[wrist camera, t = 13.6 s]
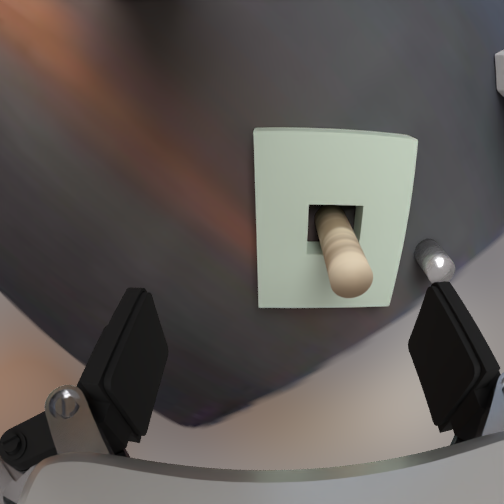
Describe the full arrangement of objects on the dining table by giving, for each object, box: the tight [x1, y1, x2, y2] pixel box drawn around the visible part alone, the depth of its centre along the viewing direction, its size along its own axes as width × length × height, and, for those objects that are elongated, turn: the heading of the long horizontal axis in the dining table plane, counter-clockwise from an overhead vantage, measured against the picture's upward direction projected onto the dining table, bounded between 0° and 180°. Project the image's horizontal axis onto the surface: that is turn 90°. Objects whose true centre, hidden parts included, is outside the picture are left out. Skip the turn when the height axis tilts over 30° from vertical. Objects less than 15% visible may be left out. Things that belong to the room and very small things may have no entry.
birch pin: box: [315, 205, 373, 298], centre depth 29 cm, size 4×4×12 cm
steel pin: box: [414, 239, 455, 284], centre depth 33 cm, size 4×4×5 cm
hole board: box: [253, 127, 418, 308], centre depth 33 cm, size 20×16×3 cm
